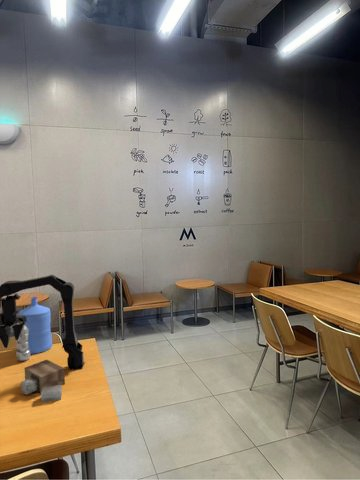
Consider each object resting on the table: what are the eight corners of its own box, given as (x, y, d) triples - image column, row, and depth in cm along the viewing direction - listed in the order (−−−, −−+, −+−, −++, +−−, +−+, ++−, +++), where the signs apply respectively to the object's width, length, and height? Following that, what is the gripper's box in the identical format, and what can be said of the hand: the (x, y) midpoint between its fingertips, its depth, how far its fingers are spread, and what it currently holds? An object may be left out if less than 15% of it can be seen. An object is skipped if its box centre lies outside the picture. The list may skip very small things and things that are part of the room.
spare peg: (61, 394, 132) (61, 384, 131) (61, 399, 128) (60, 389, 128) (43, 397, 130) (42, 387, 130) (41, 402, 126) (41, 392, 126)
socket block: (47, 374, 148) (46, 359, 148) (64, 383, 140) (64, 367, 139) (25, 383, 141) (24, 368, 140) (42, 394, 132) (41, 377, 131)
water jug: (41, 355, 170) (38, 301, 168) (14, 353, 173) (10, 301, 171) (58, 343, 185) (55, 294, 183) (33, 342, 188) (30, 294, 186)
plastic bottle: (33, 357, 168) (31, 318, 167) (26, 362, 161) (23, 322, 160) (21, 356, 169) (19, 318, 167) (13, 362, 162) (11, 322, 161)
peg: (38, 384, 138) (37, 375, 137) (43, 387, 135) (42, 377, 135) (21, 391, 132) (20, 382, 132) (26, 394, 130) (25, 385, 130)
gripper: (2, 304, 157) (5, 336, 158) (-22, 316, 139) (-19, 352, 140) (26, 303, 157) (28, 336, 158) (4, 315, 138) (7, 352, 139)
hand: (11, 343), depth 149 cm, fingers open, 9 cm apart
